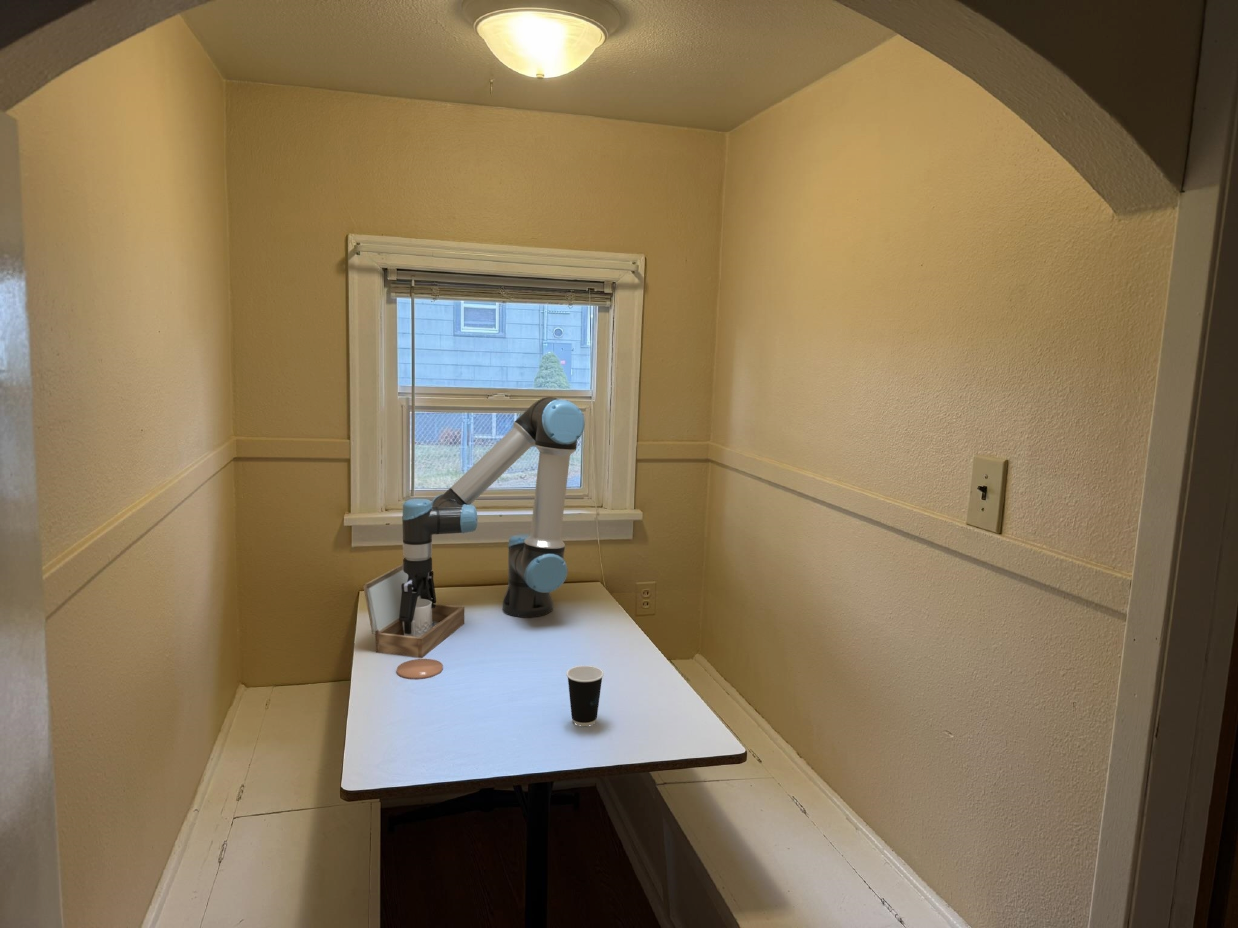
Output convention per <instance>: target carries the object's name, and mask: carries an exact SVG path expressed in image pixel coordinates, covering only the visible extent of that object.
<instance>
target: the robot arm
mask: <svg viewBox="0 0 1238 928" xmlns="http://www.w3.org/2000/svg"><path fill="white" fill-rule="evenodd" d="M585 423H586V422H585V417H584V413H583V412H582V411H581V409H580V408H579V407H578V405H576V404H575V403H573V402H572V401H569V400H568V399H561V398H556V397H552V396H548V397H547V396H546V397H542V398H540V399H538V400H536V401H535V402H534V403H532V405H530V406H529V407H528V408H527V409H526V410H525V411H524V412H523V413H522V414H521V415H520V416H518V418H517V419H516V420H515V421H514V422H513V423H512V426H513V427H512V428H511V429H510V430H509V431H508V432H507V433H506V434H505V435H504V436H503V437H501V439H500V440H499V441H498V442H497V443H496V444H494V445H493V446H492V448H490V449H489V450H488V452H486V453H485V454H484V455H483V456H482V457H481V458H480V459H479V460H478V461H477V462H476V463H475V464H474V465H472V467H471V468H469V469H468V470H467V471H466V472H465V473H464V474H463V475H462V476H461V477H460V478H458V480H456V482H455V483H454V484H453V485H452V486H451V487H450V488H448V489H447V490H446V491H445V492H444V493H441V494H438V495H436V496H435V497H434V498H433V499H432V500H430V499H427V498H411V499H407V500H406V501H404V502H403V504H402V515H401V516H402V517H401V518H402V544H401V546H402V555H403V557H404V558H403V559H402V564H403V571H404V572H405V573H407V574H408V580H407V583H406V584H405V583H402V585H401V588H402V595H401V605H400V614H399V621H403V622H404V635H405V636H414V637H415V621H413V617H414V612H415V608H416V603H417V598H418V597H419V596H420V597H421V599H427V600H430V601H431V602H432V606H431V628H430V629H432V628H433V622H432V608H435V607H436V604H437V597H436V595H437V594H436V588H435V581H434V571H433V558H432V557H433V536H434V535H448V534H451V535H453V534H466V533H473V532H475V531H476V530H477V527H478V511H477V509H476V506H475V505H474V504H473V503H474V502H475V501H477V499H478V498H479V497H480V496H481V495H482V494H483V493H484V492H485V491H486V490H488V488H489V487H491V486H492V485H493V484H494V483H495V482H496V481H497V480H498V479H499V478H501V476H502V475H503V474H504V473H506V472H507V470H509V468H510V467H512V465H514V464H515V463H516V462H517V461H518V460H519V459H520V458H521V457H522V456H523V455H524V454H525V453H526V452H527V451H528V450H529V449H531V448H533V447H536V449H537V450H538V453H539V454H538V463H537V471H536V472H537V474H536V481H535V482H536V483H535V490H534V498H533V499H534V501H533V507H532V517H531V527H530V533H523V534H516V535H511V536H510V537H509V538H508V546H507V550H508V555H507V556H508V558H507V559H508V568H507V570H508V585H507V588H506V591H505V594H504V597H503V601H502V612H503V613H504V614H506V615H510V616H512V617H519V618H535V617H540V616H545V615H547V614H549V613H551V612H552V611H553V610H554V607H553V606H554V601H553V597H552V595H551V592H554V591H556V590H558V589H559V588H560V587H561V586H562V585H563V584H564V583H565V581H566V579H567V577H568V565H567V563H566V561H565V560H564V559H565V558H564V557H565V550H566V549H565V548H566V544H565V542H564V541H563V540H562V538H561V536H562V527H563V520H564V519H563V518H564V510H565V504H566V503H565V501H566V495H567V494H566V493H567V485H568V476H569V469H570V468H569V467H570V458H571V455H573V453H574V452H576V451H577V446H578V440H579V439H580V438H581V436H582V435H583V432H584V430H585V425H586V424H585ZM412 592H416V593H412Z"/></svg>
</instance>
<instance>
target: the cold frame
mask: <svg viewBox="0 0 1238 928" xmlns="http://www.w3.org/2000/svg"><path fill="white" fill-rule="evenodd" d="M435 604H436V607H435V608H432V623H433V622H434V623H437V624H436V625H435V626H432V629H430V630H429V631H428V632H426V633H425V634H424V635H422V636H421V637H414V636H405V635H404V630H403V621H399V618H398V619H397V620H395V621H394V622H392V623H391V624H389V625H388V626H386V627H385V628H383V629H382V630H380V631H379V630H376V631H375V634H374V635H375V636H374V637H375V639H374V640H375V653H379V654H389V655H393V656H394V655H397V656H405V657H412V658H413V657H414V658H419V659H423V658H425V656H426V655H428V654H429V653H430V652H431V651H432V650H434V649H435V648H436V647H438V646H439V645H440V644H441V643H442V642H444V641H445V640H446V639H447V638H449V637H450V636H451V635H453V634H454V633H455V632H456V631H457V630H459V629H460V628H461V627H462V626H463V625H465V622H466V621H465V606H459V605H450V604H442V603H441V604H439V603H435Z"/></svg>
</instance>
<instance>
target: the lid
mask: <svg viewBox="0 0 1238 928" xmlns="http://www.w3.org/2000/svg"><path fill="white" fill-rule="evenodd" d="M407 580H408V574H407V573H405V572H404V571H403V563H402V564H400V565H398V566H396V567H395V568H393V569H391V570H389V571H387V572H385V573H383V574H381V575H379V576H378V577H376V578H374V579H372V580H370V581H368V582H366V583H364V584H363V585H362V586H363V591H364V598H365V602H366V608H367V613H368V619H369V623H370V628H371V635H375V631H376V630H379V631H380V630H382V629H383V628H385V627H386V626H388V625H389V624H391V623H392V622H394V621H395V620H397V619H398V618H399V614H400V605H401V595H402V588H401V585H402V583H405V584H406V583H407ZM412 593H416V592H412ZM417 599H421V597H420V596H419V597H418V598H417Z"/></svg>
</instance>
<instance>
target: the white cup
mask: <svg viewBox="0 0 1238 928" xmlns="http://www.w3.org/2000/svg"><path fill="white" fill-rule="evenodd" d="M431 606H432V602H431V601H430V600H427V599H417V603H416V608H415V612H414V617H413V621H415V637H421V636H422V635H424V634H425V633H426V632H428V631H429V630H430V628H431ZM403 630H404V622H403Z"/></svg>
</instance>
